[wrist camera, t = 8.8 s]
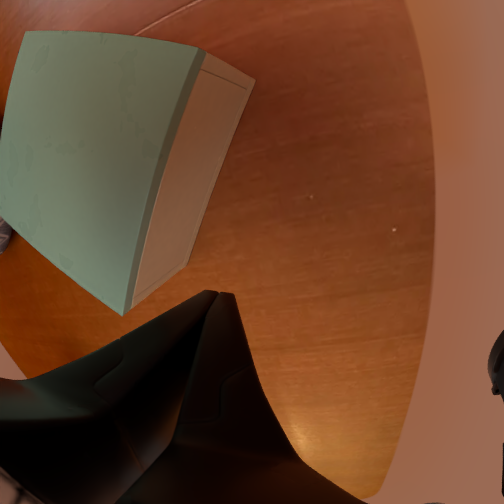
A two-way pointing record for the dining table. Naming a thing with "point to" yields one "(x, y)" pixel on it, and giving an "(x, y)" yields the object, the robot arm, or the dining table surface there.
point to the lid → (91, 149)
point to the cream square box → (191, 171)
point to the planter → (4, 230)
